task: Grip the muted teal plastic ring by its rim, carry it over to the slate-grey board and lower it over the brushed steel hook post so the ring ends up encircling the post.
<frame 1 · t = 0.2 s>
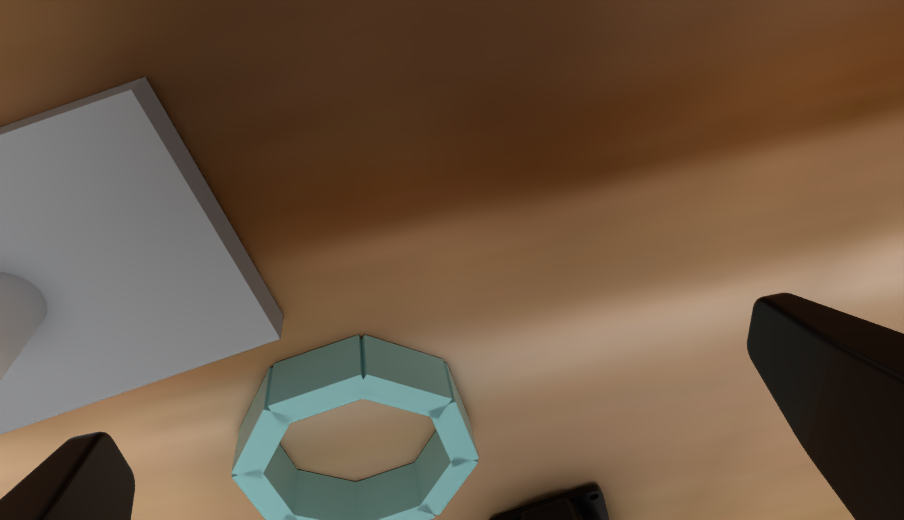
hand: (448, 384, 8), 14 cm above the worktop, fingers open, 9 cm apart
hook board: (26, 279, 21), on the worktop
teal ring: (358, 424, 27), on the worktop
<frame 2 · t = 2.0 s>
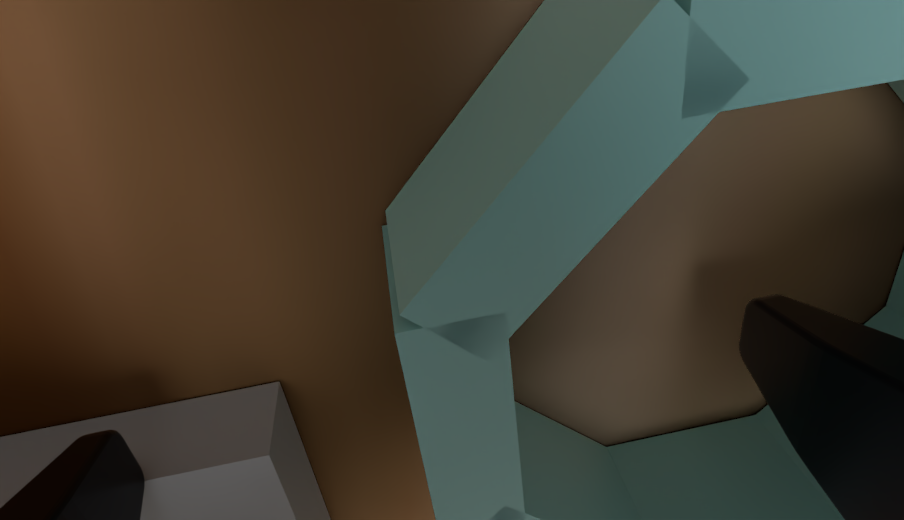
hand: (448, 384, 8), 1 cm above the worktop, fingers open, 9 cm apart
teal ring: (699, 273, 10), on the worktop
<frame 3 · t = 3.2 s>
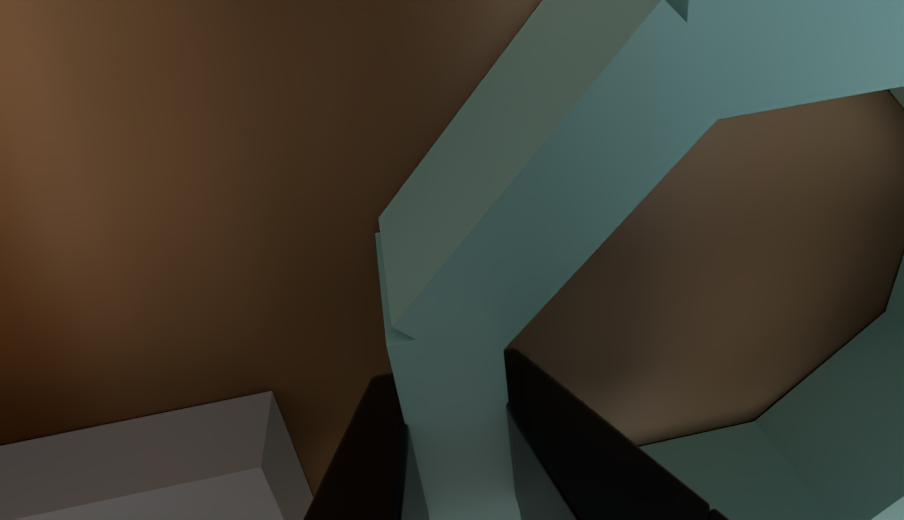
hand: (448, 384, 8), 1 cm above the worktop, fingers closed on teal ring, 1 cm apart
teal ring: (697, 279, 10), on the worktop, touching gripper
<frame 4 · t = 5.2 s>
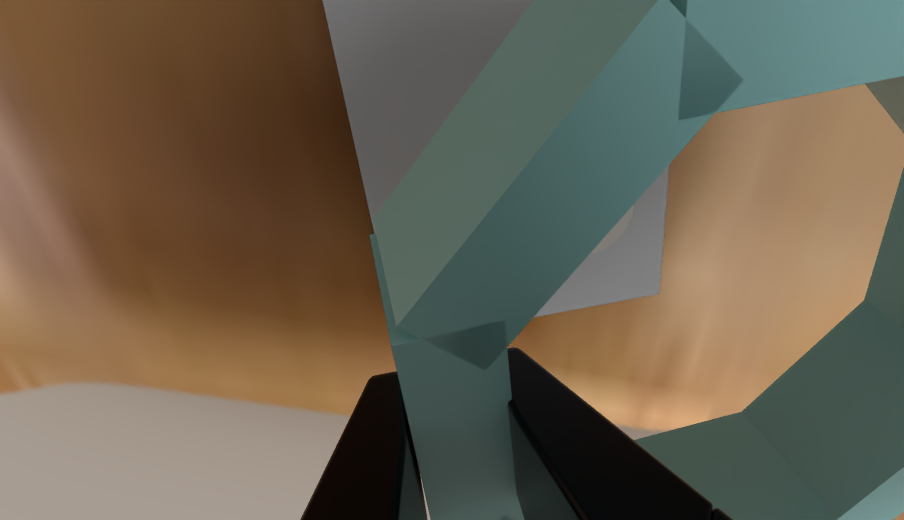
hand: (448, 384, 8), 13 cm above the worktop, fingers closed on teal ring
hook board: (507, 110, 19), on the worktop
teal ring: (686, 273, 10), point 11 cm above the worktop, touching gripper
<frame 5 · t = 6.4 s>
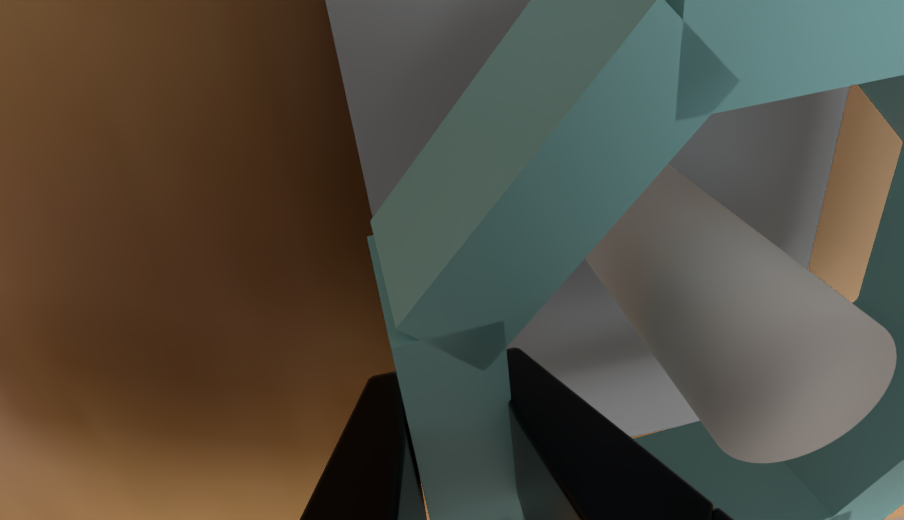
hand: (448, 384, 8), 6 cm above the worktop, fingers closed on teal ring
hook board: (587, 170, 14), on the worktop
teal ring: (682, 273, 10), point 5 cm above the worktop, touching gripper
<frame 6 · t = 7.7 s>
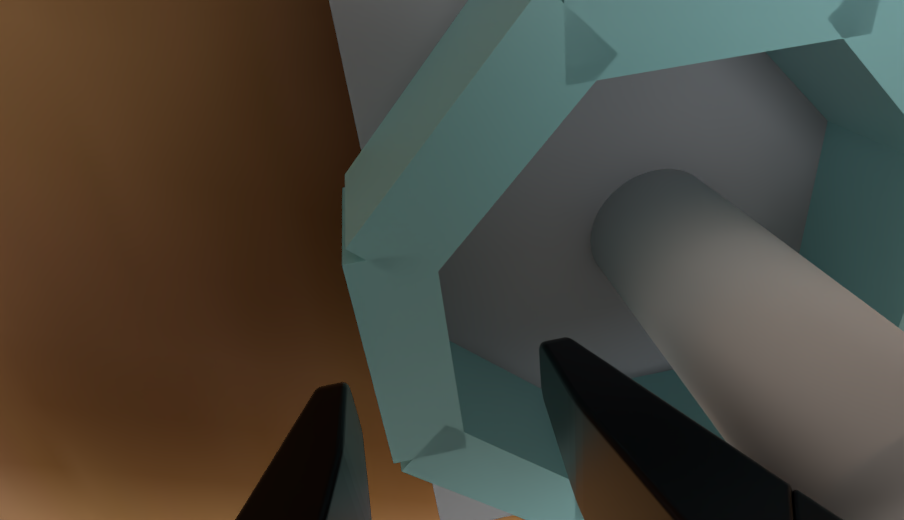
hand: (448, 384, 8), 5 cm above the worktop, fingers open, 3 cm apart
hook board: (620, 196, 12), on the worktop
teal ring: (625, 233, 11), point 1 cm above the worktop, touching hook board
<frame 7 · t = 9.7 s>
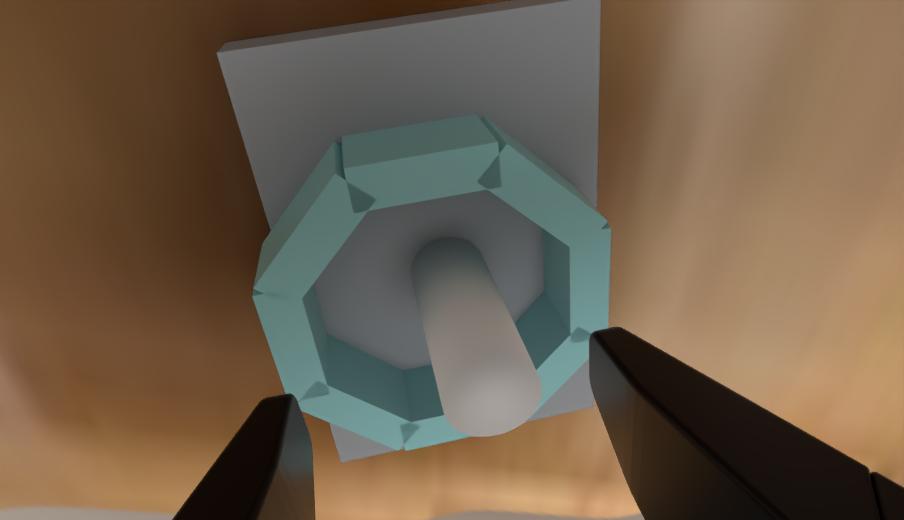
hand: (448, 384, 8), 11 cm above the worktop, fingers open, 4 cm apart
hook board: (440, 248, 20), on the worktop
teal ring: (432, 273, 19), point 1 cm above the worktop, touching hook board
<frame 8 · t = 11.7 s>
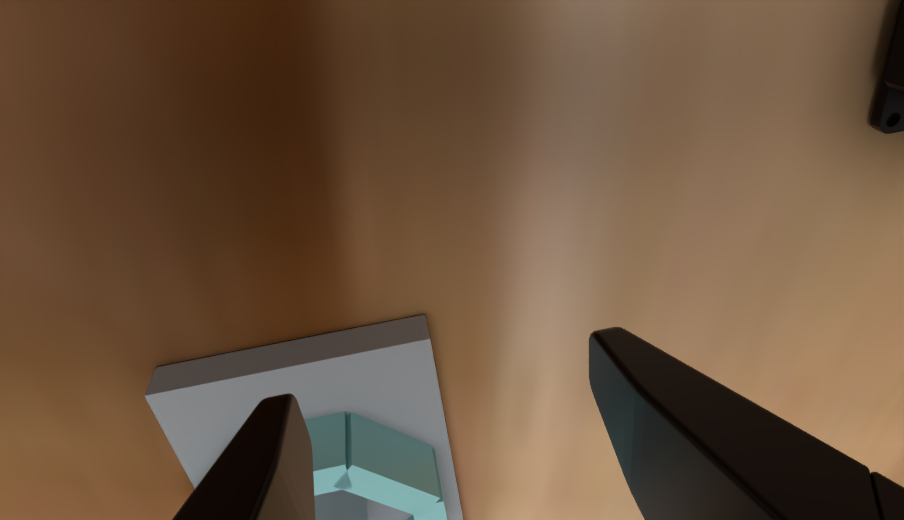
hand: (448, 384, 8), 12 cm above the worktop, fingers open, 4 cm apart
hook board: (337, 473, 26), on the worktop
teal ring: (325, 504, 24), point 1 cm above the worktop, touching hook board
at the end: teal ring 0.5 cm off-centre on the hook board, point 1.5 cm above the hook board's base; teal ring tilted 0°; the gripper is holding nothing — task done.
